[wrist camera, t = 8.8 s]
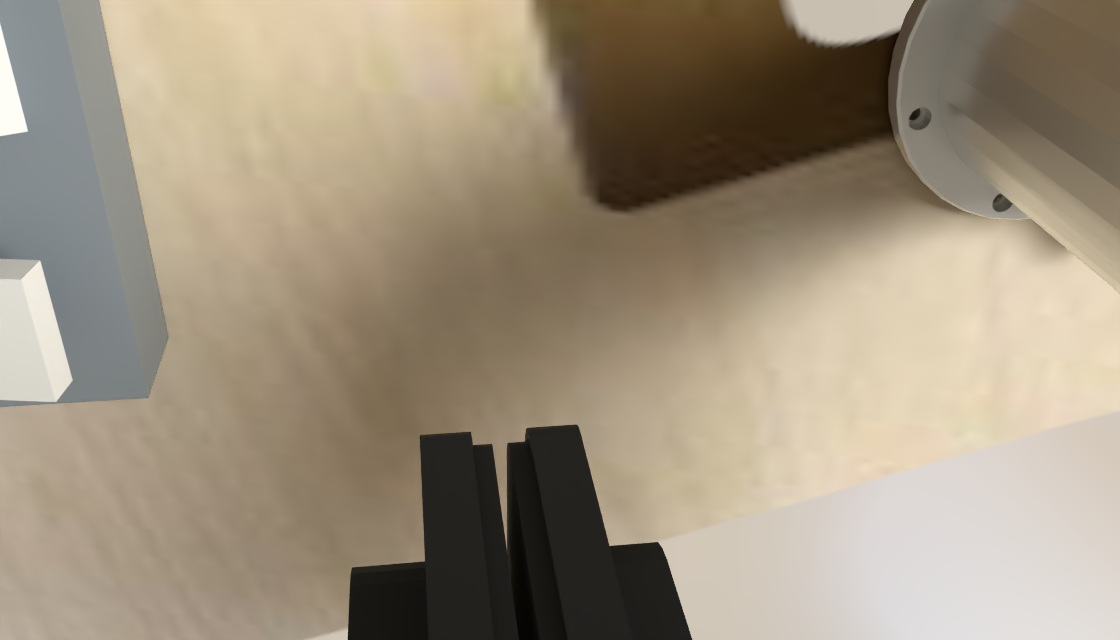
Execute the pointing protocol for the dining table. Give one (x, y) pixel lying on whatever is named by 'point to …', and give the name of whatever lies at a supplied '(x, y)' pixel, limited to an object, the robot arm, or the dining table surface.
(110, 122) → the console
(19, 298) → the switch
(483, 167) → the dining table surface
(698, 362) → the dining table surface
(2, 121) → the switch
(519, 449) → the robot arm
